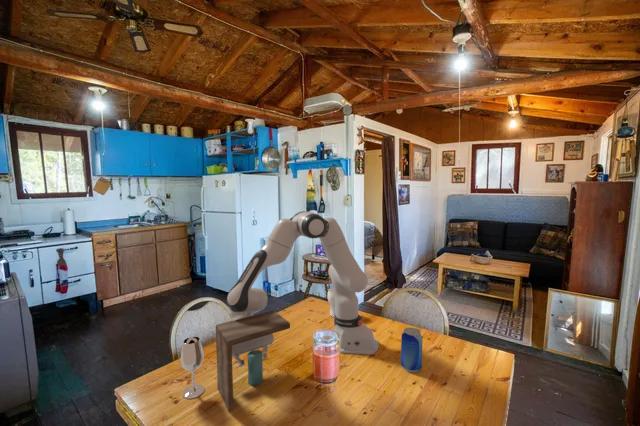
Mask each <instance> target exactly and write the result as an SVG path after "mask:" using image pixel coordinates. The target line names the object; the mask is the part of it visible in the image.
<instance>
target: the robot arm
mask: <svg viewBox="0 0 640 426" xmlns="http://www.w3.org/2000/svg"><path fill="white" fill-rule="evenodd" d="M301 236H302V237H305V238H308V239H319V240H320V243H321V246H322V248H323V251H324V253H325V256H326V258H327V260H328V262H329V263H330V265H329V267H328V269H327V270H328V272H327V273H328V275H329V276H328V277H330V280H331V284H332V288H333V290H334V295H335V316H334V317H333V322H334V323H333V324H334V329H333V331H335V332H337V333H338V334H339V336H340V351H339V352H340V353H342V354H352V355H353V354H356V355H357V354H358V355H374V354H376V353H377V352H378V350H379V347H380V346H379V341H378V339H377V338H376V337H375V336H374V333H373V330H372V329H371V328H369V327H368V326H367V325H366V324H365V323H363V315H360V314H359V298H358V296H357V294H356V293H361V292H363V291H365V290H366V288H367V285H368V284H369V283H368V281H369V280H368V276H367V274H366V273H365V272H364V271H363V270H362V268H361V266H360V265H359V263H358V262H357V261H356V259H355V257H354V255H353V253H352V251H351V250H350V248H349V245H348V243H347V240H346V238H345V235H344V233H343V230H342V228H341V226H340V225H339V223H338V222H337V220H336V219H335V218H333V217H323V216H321V215H320V214H318V213H314V212H311V211H305V210H304V211H299V212H297V213H295V214H294V215H293V216H292V217H291V218H281V219H279V220H278V222H277V223H276V224H275V226H274V227H273V229H272V230H271V232H270V234H269V237H268V238H267V240H266V242H265V243H264V245H263V246H261V249H259V250H258V251H256V252H255V253H254V255H253V256H252V258H251V259H250V260H249V262H248V264H247V265H246V267H245V269H244V270H243V272H242V273H241V275H240V277H239V278H238V280H237V281H236V283H235V284H234V285H233V286H232V287H231V289H230V290H229V291H228V293H227V296H226V303H227V308H228V312H229V313H228V314H229V316H230V318H231V321H234V320H238V319H242V318H246V317H250V316H254V315H255V314H257V313H259V312H262V311H263V310H264V309H266V308H267V305H268V303H269V296H268V293H267V291H266V290H265V289H264V288H259V287H252V286H253V285H254V284H255V282H256V281H257V279H258V277H259V275H260V274H261V272H262V271H264V270H265V269H267V268H269V267H272V266H276V265H279V264H282V263H284V262H285V261H286V260H287V259H288V258H289V256H290V254H291V251H292V249H293V247H294V244H295V242H296V241H297V239H298V238H299V237H301ZM274 341H275V337H274V333H273V334H269V335H266V336H262V337H259V338H256V339H252V340H249V341H246V342H242V343H239V344H235V345H232V358H233V357H234V360H236V362H237V363H238V365H239V367H240V368H242V367H244V366H245V365H246V363H245V360H244V359H241V358H240V357H241V356H240V355H243V354H245V353H249V352H251V351H254V350H258V349H261V348H262V350H263V352H262V360H265V359H268V348H269V347H268V346H270V345H272V344H273V343H274Z"/></svg>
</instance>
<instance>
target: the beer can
mask: <svg viewBox="0 0 640 426" xmlns="http://www.w3.org/2000/svg"><path fill="white" fill-rule="evenodd" d="M400 339H401V341H400V342H401V343H400V365H401V366H402V368H403V370H404V371H406V372H409V373H412V372H413V373H414V372H415V373H418V372H420V370H421V369H422V368H423V367H422V365H423V342H424V341H423V335H422V334H421V330H419V329H418V328H415V327H406V328H403V332H401V338H400Z"/></svg>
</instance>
